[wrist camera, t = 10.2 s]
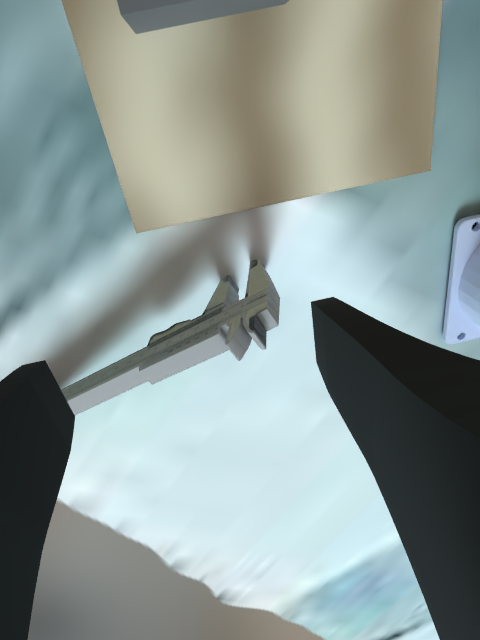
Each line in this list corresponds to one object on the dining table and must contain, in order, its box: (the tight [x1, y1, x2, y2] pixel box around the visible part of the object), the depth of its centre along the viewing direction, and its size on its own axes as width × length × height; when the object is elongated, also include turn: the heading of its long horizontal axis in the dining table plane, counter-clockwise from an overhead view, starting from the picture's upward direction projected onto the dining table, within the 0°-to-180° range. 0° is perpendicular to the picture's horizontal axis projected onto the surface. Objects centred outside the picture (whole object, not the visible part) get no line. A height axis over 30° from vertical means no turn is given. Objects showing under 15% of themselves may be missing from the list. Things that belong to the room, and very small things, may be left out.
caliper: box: [61, 260, 280, 415], centre depth 20 cm, size 21×1×6 cm, turn 122°
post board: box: [62, 0, 443, 233], centre depth 14 cm, size 14×13×5 cm
